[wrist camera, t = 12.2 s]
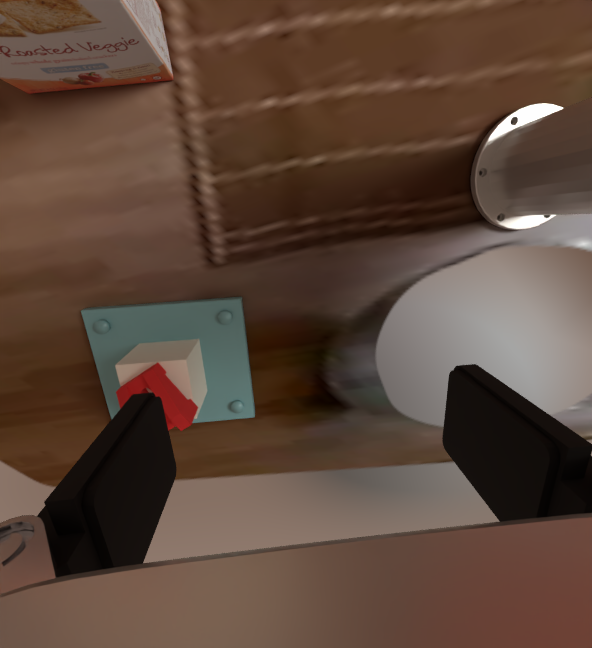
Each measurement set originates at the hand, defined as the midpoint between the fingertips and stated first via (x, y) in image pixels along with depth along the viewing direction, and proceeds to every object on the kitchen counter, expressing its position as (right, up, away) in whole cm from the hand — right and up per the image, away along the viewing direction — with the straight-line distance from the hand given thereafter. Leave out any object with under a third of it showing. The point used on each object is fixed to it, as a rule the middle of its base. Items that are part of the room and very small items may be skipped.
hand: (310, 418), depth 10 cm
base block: (-15, -2, +28) cm, 32 cm away
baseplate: (-15, -2, +29) cm, 33 cm away
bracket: (-15, -5, +23) cm, 27 cm away
